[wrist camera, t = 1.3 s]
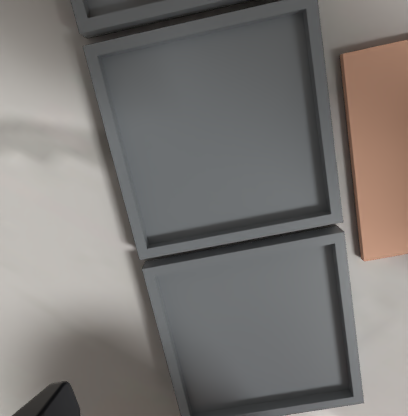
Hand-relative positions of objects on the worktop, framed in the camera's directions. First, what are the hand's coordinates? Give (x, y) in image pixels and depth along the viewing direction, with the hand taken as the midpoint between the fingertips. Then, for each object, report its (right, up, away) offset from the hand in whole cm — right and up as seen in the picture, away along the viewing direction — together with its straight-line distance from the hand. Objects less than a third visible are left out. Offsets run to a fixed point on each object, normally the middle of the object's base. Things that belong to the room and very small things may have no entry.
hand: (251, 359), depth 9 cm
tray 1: (0, +7, +9) cm, 11 cm away
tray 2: (+2, -3, +11) cm, 12 cm away
